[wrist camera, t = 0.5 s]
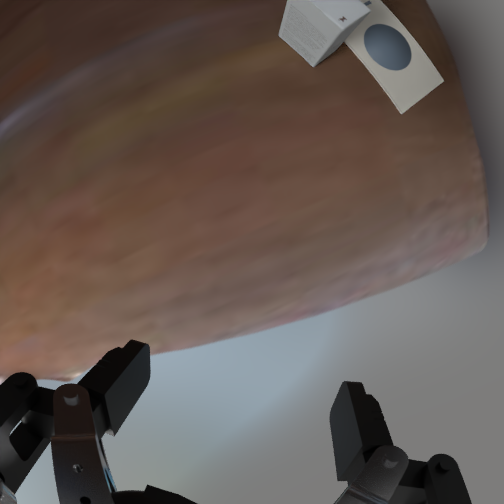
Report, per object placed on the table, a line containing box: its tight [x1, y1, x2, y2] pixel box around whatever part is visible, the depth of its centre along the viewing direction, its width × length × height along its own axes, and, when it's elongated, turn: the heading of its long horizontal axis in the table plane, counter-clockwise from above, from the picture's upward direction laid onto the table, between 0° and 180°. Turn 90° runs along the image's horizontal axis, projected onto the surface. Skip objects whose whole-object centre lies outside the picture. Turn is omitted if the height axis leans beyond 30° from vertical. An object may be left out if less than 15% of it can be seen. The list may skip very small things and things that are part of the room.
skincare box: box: [279, 0, 371, 67], centre depth 21 cm, size 6×4×12 cm
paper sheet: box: [344, 0, 444, 114], centre depth 26 cm, size 18×10×1 cm, turn 41°
